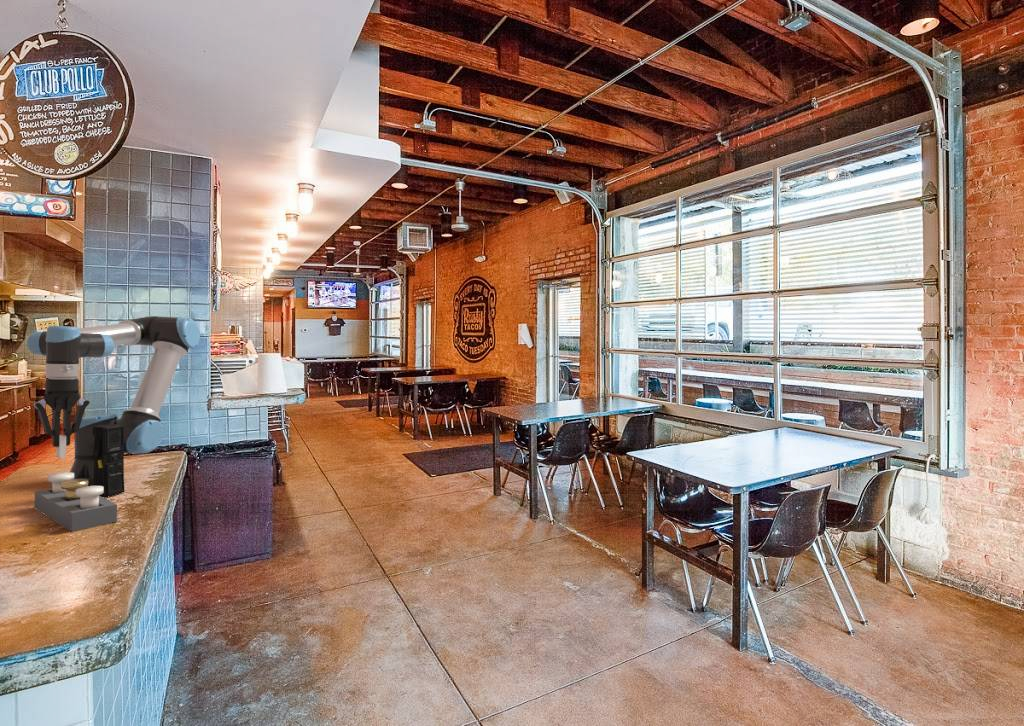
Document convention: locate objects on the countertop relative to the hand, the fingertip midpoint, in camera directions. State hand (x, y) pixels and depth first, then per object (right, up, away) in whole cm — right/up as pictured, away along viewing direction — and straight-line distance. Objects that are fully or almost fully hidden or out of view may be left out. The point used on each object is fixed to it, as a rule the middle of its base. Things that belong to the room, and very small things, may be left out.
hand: (61, 457), depth 156 cm
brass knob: (+9, -12, -6) cm, 16 cm away
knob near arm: (-1, -12, +1) cm, 12 cm away
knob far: (+18, -13, -12) cm, 25 cm away
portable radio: (+3, -15, +14) cm, 21 cm away
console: (+9, -16, -5) cm, 19 cm away
